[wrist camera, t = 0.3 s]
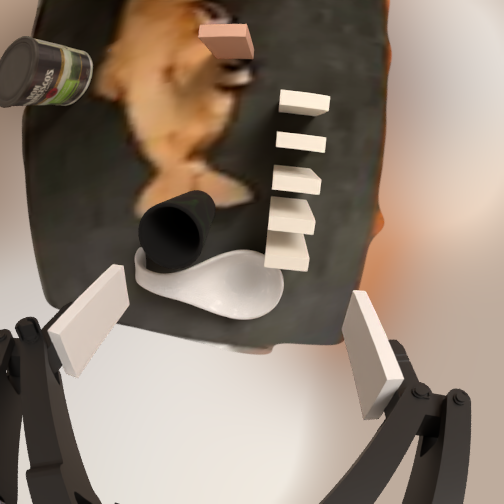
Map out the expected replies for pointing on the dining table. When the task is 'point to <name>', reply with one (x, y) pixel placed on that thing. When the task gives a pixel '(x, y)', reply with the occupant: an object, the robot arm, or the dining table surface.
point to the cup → (177, 229)
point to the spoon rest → (219, 284)
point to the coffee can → (43, 73)
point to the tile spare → (227, 40)
